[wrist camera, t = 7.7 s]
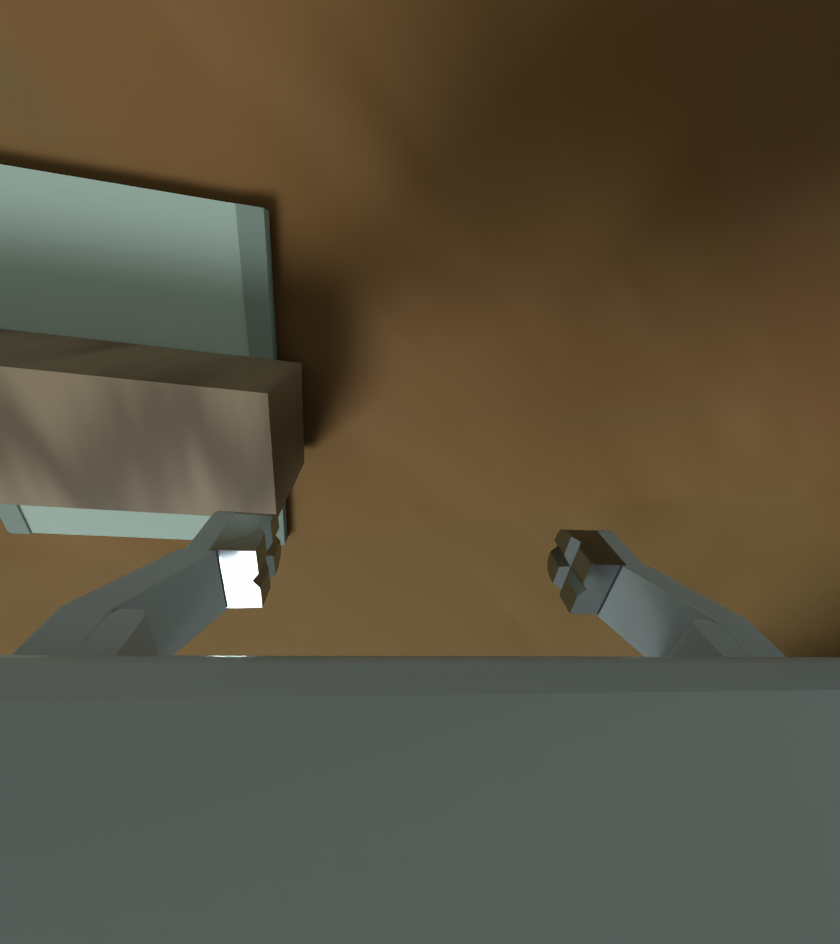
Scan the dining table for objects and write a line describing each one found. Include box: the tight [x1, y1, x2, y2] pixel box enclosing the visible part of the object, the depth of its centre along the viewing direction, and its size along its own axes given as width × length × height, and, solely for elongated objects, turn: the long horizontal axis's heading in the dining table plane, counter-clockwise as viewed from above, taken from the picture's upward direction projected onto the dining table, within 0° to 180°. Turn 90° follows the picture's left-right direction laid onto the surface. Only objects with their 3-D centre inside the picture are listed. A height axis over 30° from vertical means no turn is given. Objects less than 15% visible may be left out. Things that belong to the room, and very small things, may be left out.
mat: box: [0, 164, 288, 545], centre depth 16 cm, size 16×14×1 cm
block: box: [0, 329, 304, 516], centre depth 14 cm, size 5×5×14 cm
